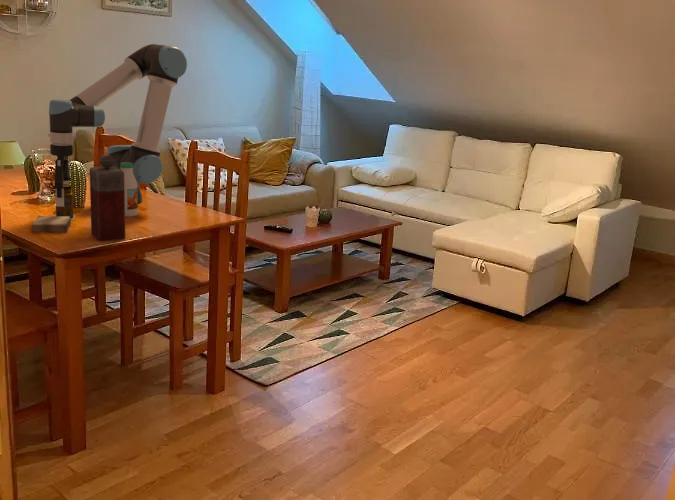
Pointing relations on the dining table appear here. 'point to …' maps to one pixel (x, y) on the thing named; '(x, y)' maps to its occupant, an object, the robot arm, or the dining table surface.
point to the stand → (51, 224)
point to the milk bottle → (130, 190)
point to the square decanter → (107, 201)
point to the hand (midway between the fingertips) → (62, 202)
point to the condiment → (66, 203)
